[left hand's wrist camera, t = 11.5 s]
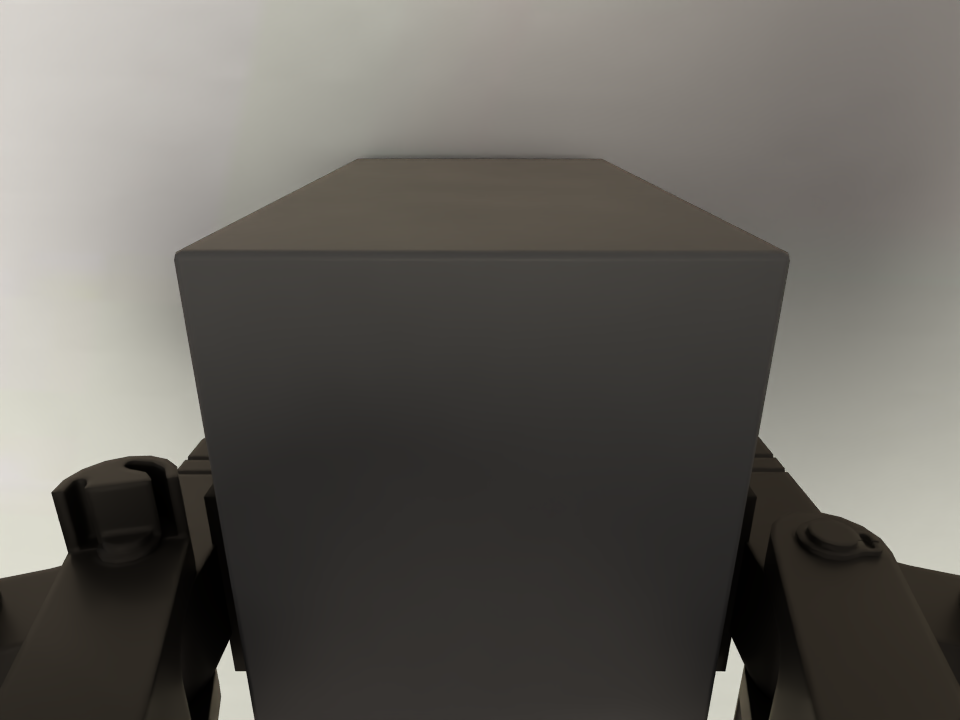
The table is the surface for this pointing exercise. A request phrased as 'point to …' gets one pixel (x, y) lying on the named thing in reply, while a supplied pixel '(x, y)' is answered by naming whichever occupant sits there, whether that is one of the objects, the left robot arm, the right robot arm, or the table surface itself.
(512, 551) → the beam
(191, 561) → the left robot arm
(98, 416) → the table surface
